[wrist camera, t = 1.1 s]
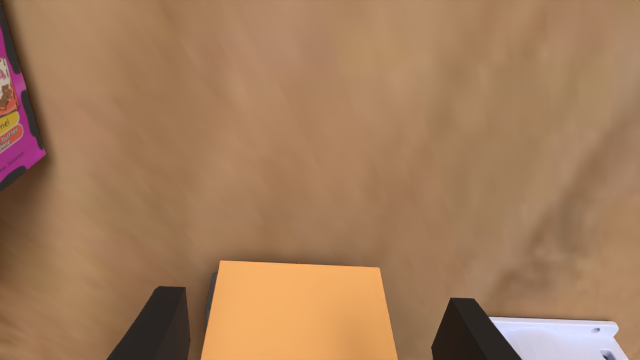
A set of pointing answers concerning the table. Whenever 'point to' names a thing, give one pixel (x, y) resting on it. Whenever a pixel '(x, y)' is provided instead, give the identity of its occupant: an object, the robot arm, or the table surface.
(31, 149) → the candy bar box
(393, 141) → the table surface
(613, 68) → the table surface
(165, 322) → the robot arm
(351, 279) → the slider
